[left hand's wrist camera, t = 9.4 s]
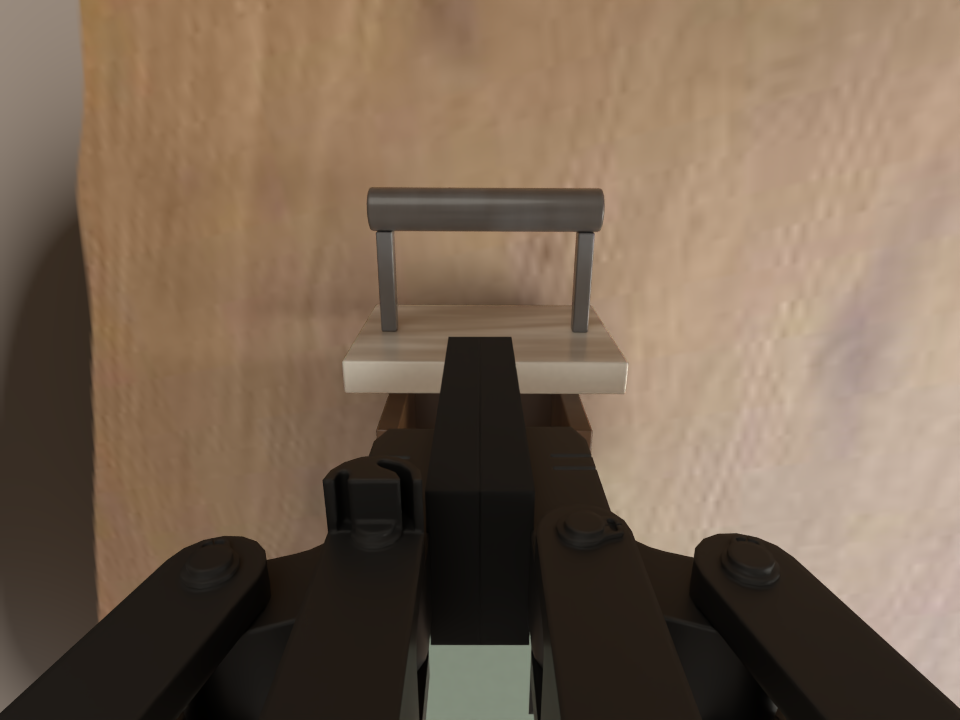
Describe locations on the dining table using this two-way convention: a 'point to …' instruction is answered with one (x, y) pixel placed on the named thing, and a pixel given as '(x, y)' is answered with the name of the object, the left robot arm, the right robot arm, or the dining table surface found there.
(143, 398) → the dining table surface
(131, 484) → the dining table surface
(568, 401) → the drawer
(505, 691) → the cabinet
